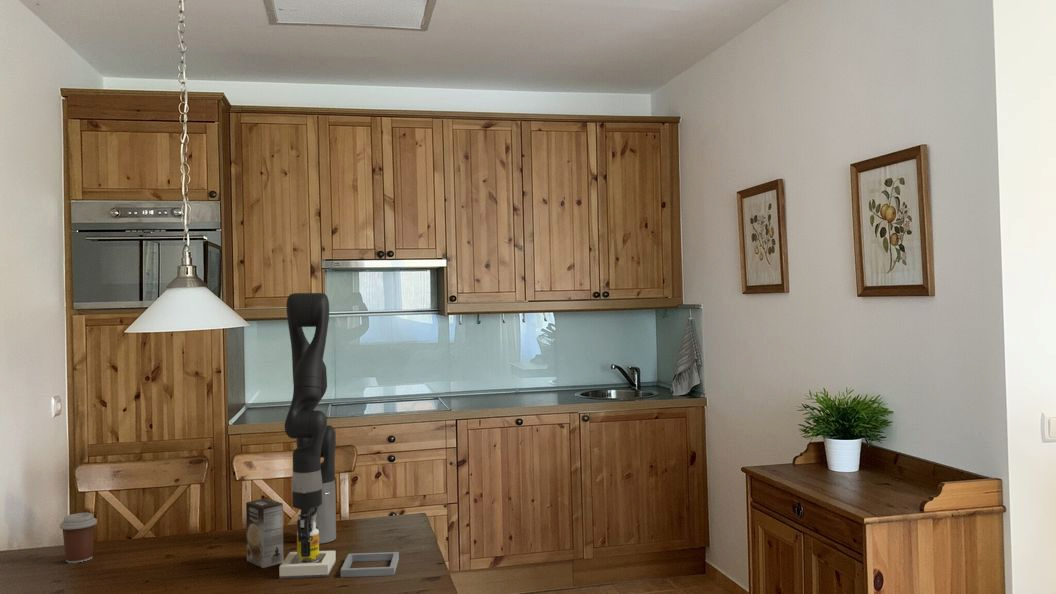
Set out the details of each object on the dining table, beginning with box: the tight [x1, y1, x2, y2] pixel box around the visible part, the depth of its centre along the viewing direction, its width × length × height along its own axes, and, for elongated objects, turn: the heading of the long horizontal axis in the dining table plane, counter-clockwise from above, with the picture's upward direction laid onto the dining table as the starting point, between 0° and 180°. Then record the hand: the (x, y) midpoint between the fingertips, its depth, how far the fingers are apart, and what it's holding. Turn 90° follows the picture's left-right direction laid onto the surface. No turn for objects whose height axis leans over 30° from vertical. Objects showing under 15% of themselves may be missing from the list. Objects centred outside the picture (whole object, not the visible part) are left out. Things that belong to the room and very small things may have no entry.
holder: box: [278, 550, 337, 580], centre depth 215 cm, size 12×12×3 cm
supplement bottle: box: [296, 522, 320, 564], centre depth 215 cm, size 6×6×10 cm
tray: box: [340, 551, 400, 578], centre depth 216 cm, size 13×13×2 cm
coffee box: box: [245, 497, 284, 569], centre depth 222 cm, size 9×6×16 cm
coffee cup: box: [59, 512, 98, 564], centre depth 226 cm, size 9×9×12 cm
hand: (308, 552), depth 215 cm, fingers closed on supplement bottle, 5 cm apart
